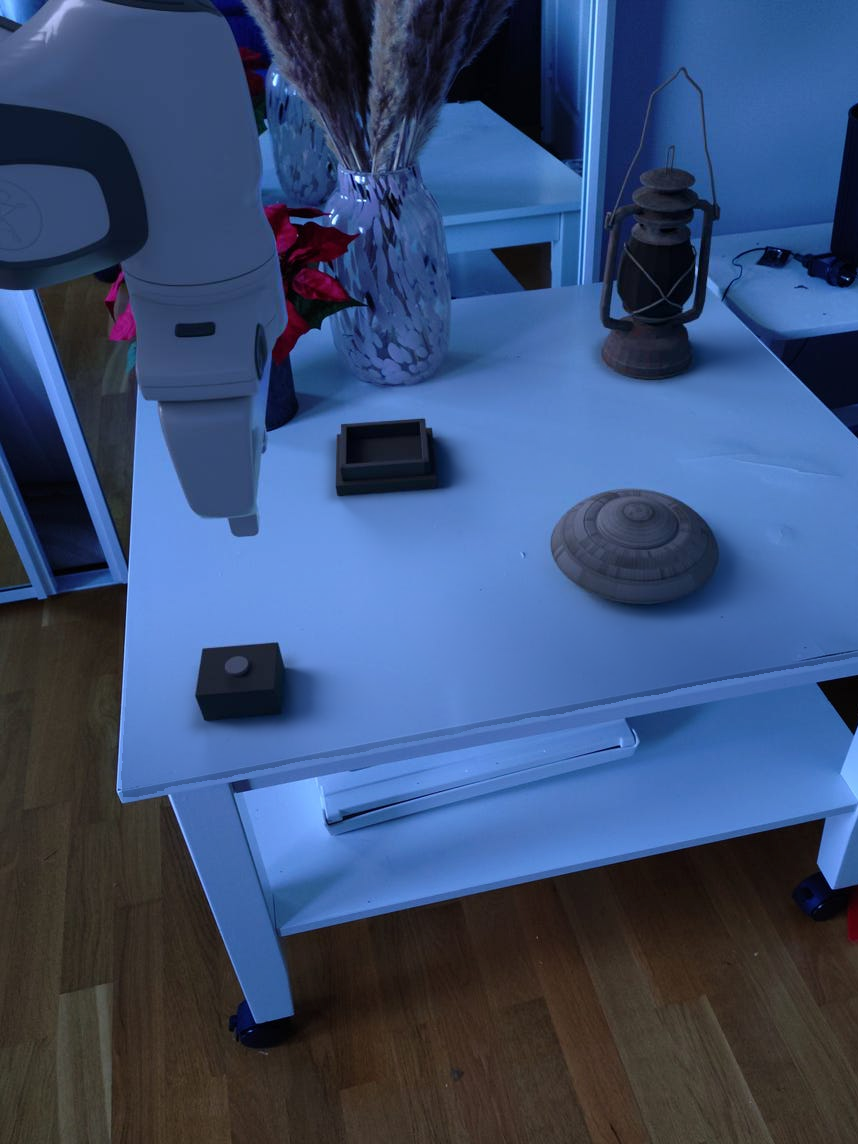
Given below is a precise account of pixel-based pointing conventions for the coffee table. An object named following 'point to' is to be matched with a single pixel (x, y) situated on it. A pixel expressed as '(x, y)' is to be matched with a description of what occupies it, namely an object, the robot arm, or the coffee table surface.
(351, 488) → the black open box
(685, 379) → the coffee table surface
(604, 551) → the flying saucer
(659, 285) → the lantern
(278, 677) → the small block
